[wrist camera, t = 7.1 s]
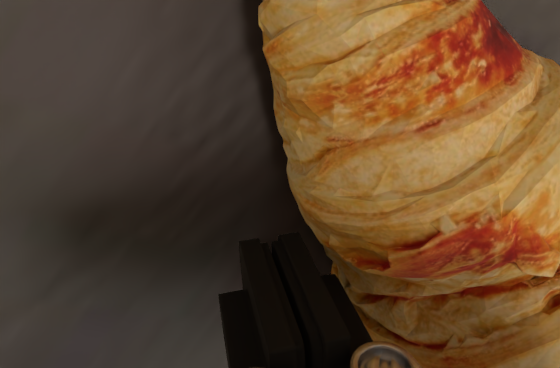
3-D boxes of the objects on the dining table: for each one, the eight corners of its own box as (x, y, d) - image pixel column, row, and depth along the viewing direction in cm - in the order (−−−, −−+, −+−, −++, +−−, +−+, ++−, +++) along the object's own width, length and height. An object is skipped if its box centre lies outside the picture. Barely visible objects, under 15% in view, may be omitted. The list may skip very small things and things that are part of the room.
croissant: (168, 13, 13) (15, 198, 8) (504, -326, 8) (828, -551, 2) (485, 337, 23) (522, 529, 17) (739, 280, 17) (919, 535, 12)
